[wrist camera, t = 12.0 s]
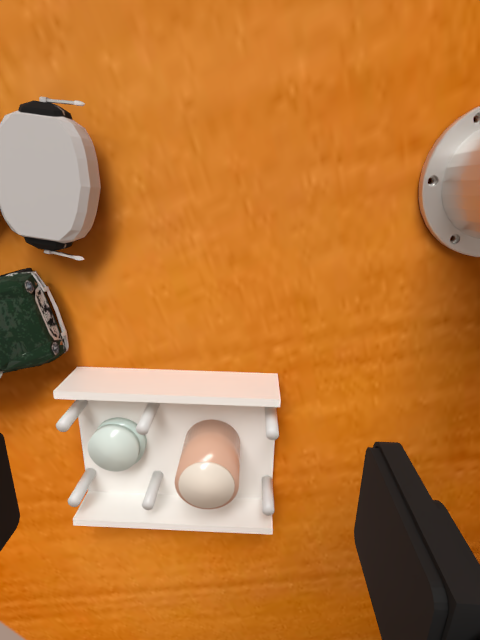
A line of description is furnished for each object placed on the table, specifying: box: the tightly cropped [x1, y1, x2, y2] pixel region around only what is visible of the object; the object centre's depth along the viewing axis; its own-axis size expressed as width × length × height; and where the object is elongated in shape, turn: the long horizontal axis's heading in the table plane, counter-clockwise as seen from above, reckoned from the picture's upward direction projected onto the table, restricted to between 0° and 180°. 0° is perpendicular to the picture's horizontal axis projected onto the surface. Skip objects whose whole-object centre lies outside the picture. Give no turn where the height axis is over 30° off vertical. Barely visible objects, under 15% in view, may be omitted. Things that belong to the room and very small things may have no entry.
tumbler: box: [175, 420, 240, 509], centre depth 39 cm, size 6×6×6 cm
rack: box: [53, 367, 281, 534], centre depth 40 cm, size 21×16×6 cm
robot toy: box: [0, 97, 101, 260], centre depth 33 cm, size 12×4×15 cm
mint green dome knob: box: [88, 417, 147, 472], centre depth 41 cm, size 6×6×2 cm
